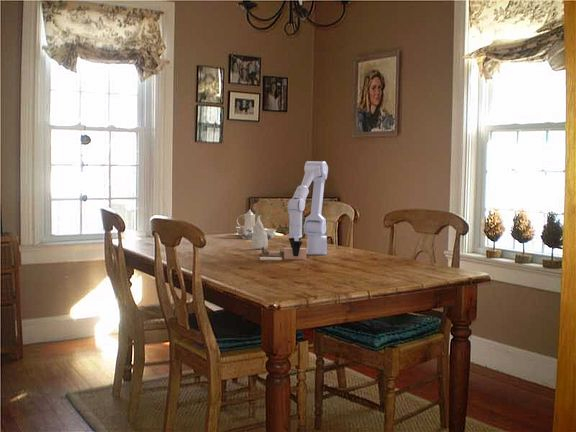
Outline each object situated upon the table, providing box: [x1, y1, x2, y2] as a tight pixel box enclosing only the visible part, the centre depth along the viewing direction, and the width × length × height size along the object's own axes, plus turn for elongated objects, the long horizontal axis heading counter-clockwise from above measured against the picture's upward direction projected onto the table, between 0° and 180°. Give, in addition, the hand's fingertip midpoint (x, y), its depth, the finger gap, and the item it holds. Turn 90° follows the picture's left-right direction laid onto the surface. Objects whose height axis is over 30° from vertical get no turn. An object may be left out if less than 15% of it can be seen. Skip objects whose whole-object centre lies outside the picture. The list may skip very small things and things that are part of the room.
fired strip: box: [259, 256, 283, 261], centre depth 312 cm, size 10×4×1 cm, turn 91°
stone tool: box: [250, 219, 269, 250], centre depth 342 cm, size 9×3×15 cm, turn 111°
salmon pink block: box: [283, 247, 307, 261], centre depth 314 cm, size 10×4×5 cm, turn 91°
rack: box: [261, 247, 288, 258], centre depth 322 cm, size 12×9×3 cm
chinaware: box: [233, 209, 278, 240], centre depth 387 cm, size 28×17×17 cm, turn 66°
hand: (295, 254), depth 314 cm, fingers open, 7 cm apart
